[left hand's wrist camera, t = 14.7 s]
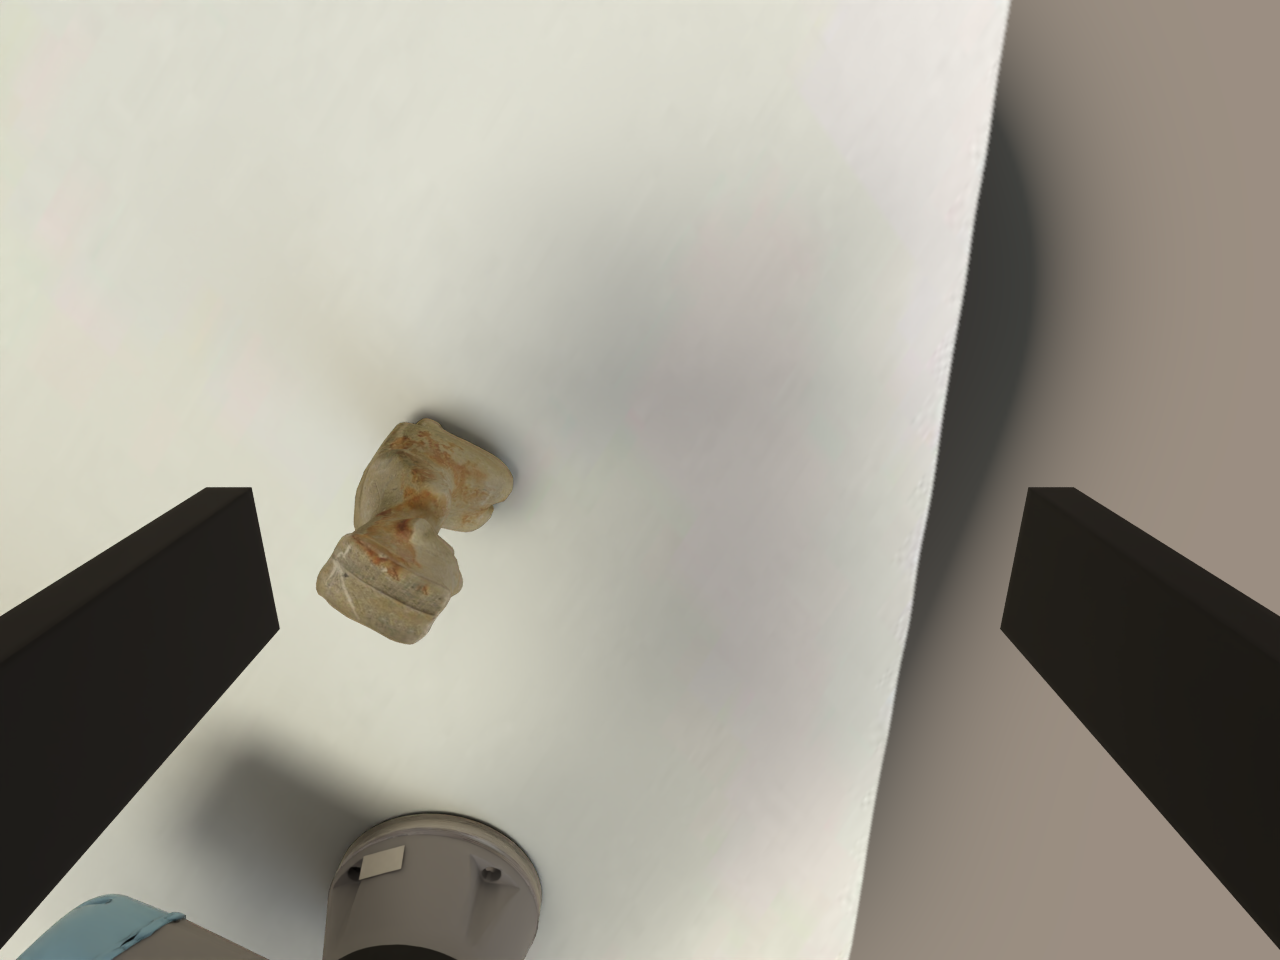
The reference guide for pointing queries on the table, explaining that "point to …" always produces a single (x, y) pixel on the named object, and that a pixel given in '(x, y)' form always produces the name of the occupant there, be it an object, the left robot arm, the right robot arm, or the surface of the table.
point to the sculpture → (411, 529)
